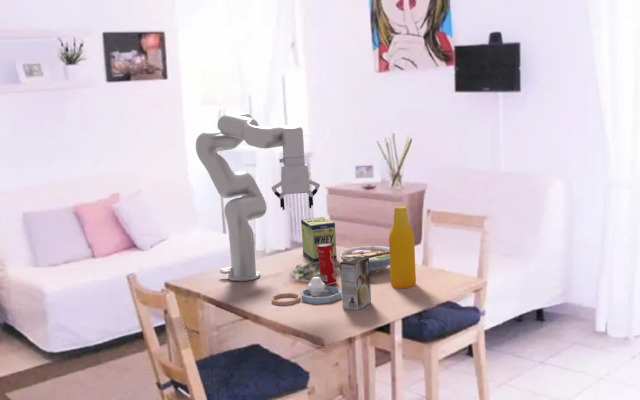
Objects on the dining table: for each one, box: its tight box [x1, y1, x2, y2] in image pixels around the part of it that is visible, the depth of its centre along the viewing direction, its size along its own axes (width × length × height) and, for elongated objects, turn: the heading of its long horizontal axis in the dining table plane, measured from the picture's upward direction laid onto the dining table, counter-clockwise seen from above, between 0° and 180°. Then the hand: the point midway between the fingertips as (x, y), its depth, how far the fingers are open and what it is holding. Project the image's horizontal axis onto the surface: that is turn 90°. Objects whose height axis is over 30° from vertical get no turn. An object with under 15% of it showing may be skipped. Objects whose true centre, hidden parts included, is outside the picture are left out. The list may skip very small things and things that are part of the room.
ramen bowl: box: [339, 245, 390, 274], centre depth 305 cm, size 25×23×8 cm
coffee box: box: [339, 256, 372, 311], centre depth 263 cm, size 9×6×16 cm
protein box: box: [300, 216, 338, 263], centre depth 331 cm, size 10×16×16 cm
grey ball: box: [319, 290, 330, 297], centre depth 272 cm, size 4×4×4 cm
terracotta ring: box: [270, 292, 301, 306], centre depth 274 cm, size 10×10×1 cm
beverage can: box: [318, 243, 337, 286], centre depth 291 cm, size 6×6×15 cm
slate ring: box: [300, 285, 342, 305], centre depth 275 cm, size 14×14×2 cm
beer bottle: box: [388, 205, 417, 289], centre depth 282 cm, size 9×9×29 cm
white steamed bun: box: [307, 276, 326, 297], centre depth 277 cm, size 6×6×7 cm
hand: (296, 208), depth 280 cm, fingers open, 9 cm apart
